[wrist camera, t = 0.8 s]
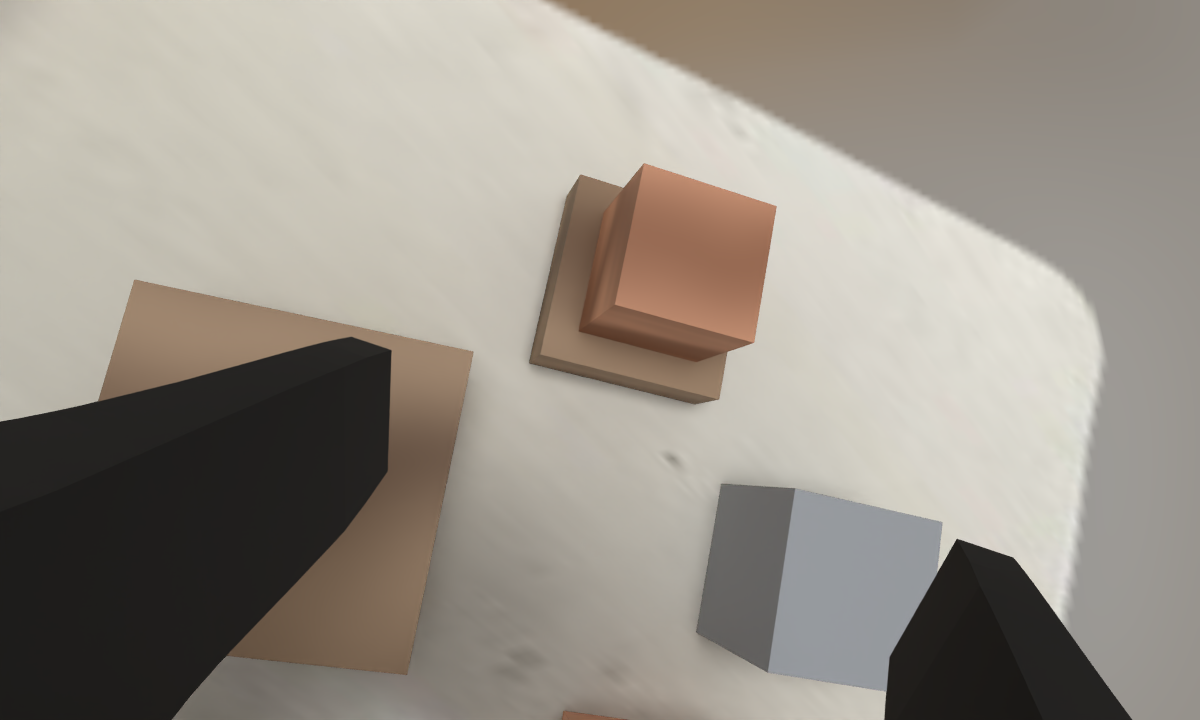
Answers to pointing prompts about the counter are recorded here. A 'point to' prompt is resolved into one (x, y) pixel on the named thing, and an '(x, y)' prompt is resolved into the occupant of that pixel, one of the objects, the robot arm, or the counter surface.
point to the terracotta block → (585, 716)
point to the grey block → (814, 582)
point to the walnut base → (387, 520)
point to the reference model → (654, 283)
